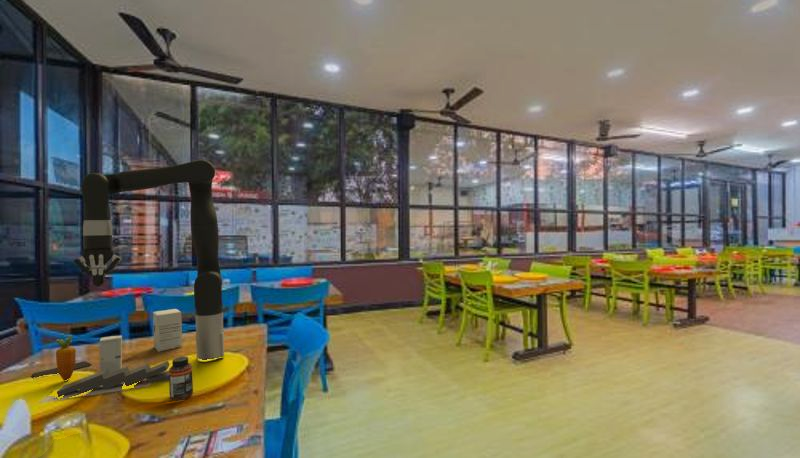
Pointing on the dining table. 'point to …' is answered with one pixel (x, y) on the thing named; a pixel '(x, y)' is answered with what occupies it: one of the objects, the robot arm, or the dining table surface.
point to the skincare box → (111, 353)
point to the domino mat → (95, 391)
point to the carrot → (65, 358)
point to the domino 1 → (107, 379)
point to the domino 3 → (149, 373)
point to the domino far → (83, 382)
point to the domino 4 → (158, 377)
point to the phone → (55, 371)
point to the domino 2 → (129, 376)
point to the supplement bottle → (180, 379)
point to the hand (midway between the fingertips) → (99, 286)
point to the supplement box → (167, 329)
